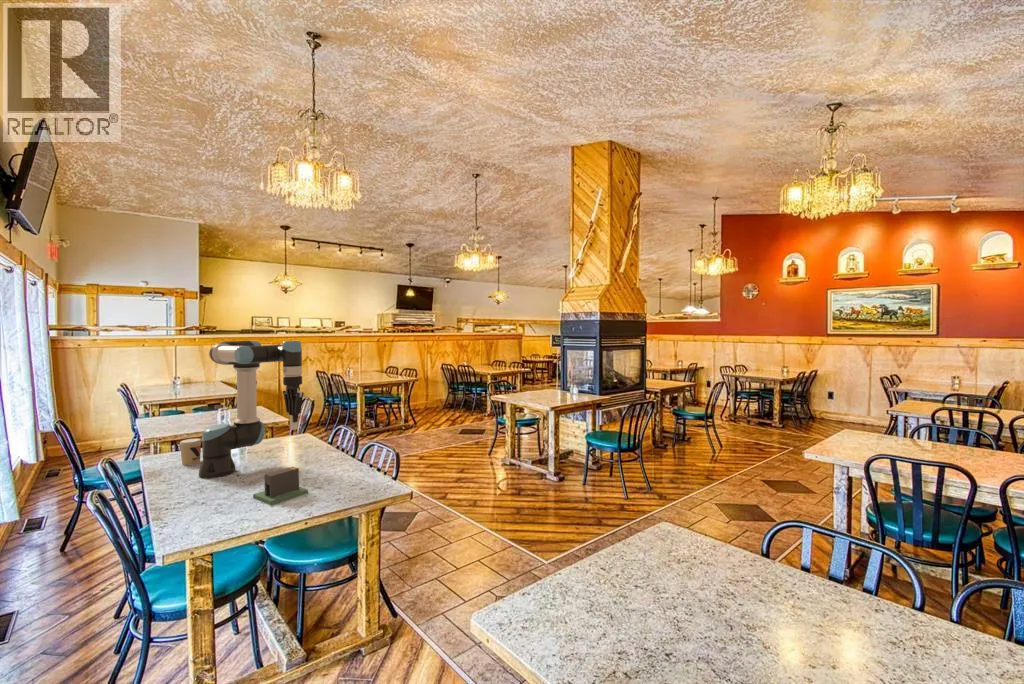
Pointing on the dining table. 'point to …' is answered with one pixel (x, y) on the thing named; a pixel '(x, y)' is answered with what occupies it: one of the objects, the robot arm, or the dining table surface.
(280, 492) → the plug housing
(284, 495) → the header board
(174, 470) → the dining table surface
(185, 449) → the coffee cup
